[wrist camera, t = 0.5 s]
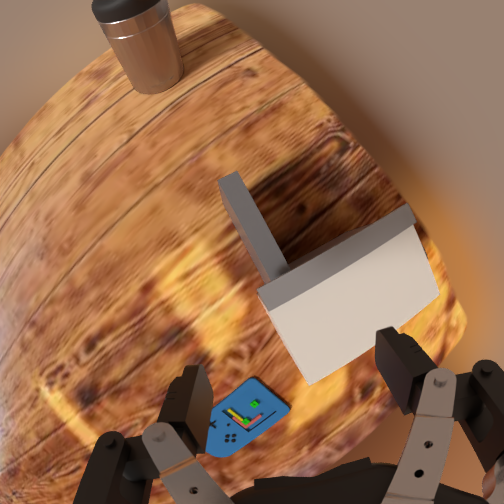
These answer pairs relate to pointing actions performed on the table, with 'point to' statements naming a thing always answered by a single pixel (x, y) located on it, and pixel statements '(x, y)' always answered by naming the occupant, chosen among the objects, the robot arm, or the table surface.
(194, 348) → the table surface
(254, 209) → the side door
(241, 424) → the handheld gaming device
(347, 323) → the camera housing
